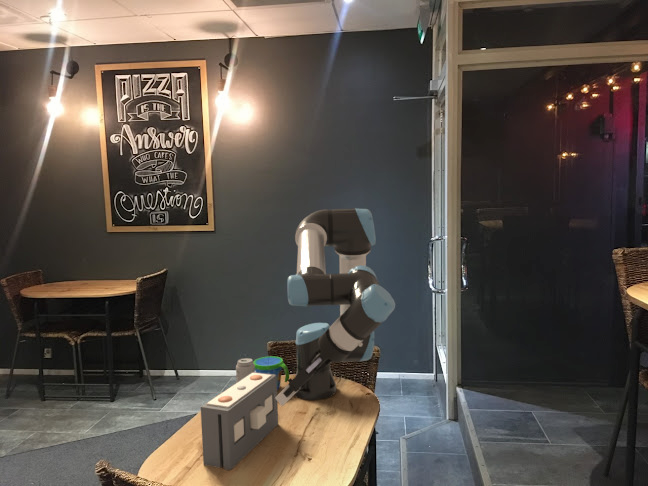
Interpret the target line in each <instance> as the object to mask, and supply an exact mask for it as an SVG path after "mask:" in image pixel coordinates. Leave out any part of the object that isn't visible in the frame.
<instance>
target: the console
mask: <svg viewBox="0 0 648 486" xmlns="http://www.w3.org/2000/svg"><path fill="white" fill-rule="evenodd" d="M252 373H257V372H252ZM250 374H251V373H250ZM250 374H249V375H250ZM260 374H265V373H260ZM268 375H272V376H271V377H270V378H269V379H267V380H266V381H264V382H263V383H262V384H260V385H259V386H258V387H256V388H255V389H254V390H252V391H251V392H250V393H248V394H247V395H245V396H244V397H243V398H241V399H240V400H239V401H237V402H236V403H235V404H233V405H232V406H231V407H229V408H224V407H218V406H211V405H207V403H208V402H209V401H211V400H212V399H214V398H215V397H217V396H218V395H220V394H221V393H223V392H224V391H226V390H227V389H229V388H230V387H232V386H233V385H235V384H236V383H238V382H239V381H238V382H237V381H236V383H234V384H233V385H231V386H229V387H228V388H226V389H225V390H223V391H222V392H221V393H219V394H218V395H216V396H215V397H213V398H212V399H210V400H209V401H207V402H205V403H204V404H203V405H201V406H200V419H201V420H200V421H201V422H200V424H201V440H202V443H201V444H202V461H203V465H204V466H208V467H209V466H210V467H213V468H220V469H221V468H222V467H223V470H227V471H231V470H232V469H233V468H234V467H235V466H237V465H238V464H239V462H241V461H242V459H244V458H245V457H246V456H247V455H248V454H249V453H250V452H251V451H252V450H253V449H254V448H255V447H256V446H257V445H258V444H260V442H262V441H263V440H264V439H265V438H266V436H268V435H269V434H270V433H271V432H272V431H273V430H274V429H275V428H276V427H277V426H278V425H279V410H278V409H279V408H278V407H279V406H278V405H279V404H278V401H277V400H276V399H275V397H276V396H277V395H278V389H277V378H276V375H274V374H268ZM247 376H248V375H247ZM247 376H246V377H247ZM244 378H245V377H244ZM244 378H243V379H244ZM241 380H242V379H241ZM241 380H240V381H241ZM270 395H272V406H273V409H272V410H271V411H270V412H269V413H268V414H267V415H266V423H265V424H264V425H262V426H261V427H260V428H259V429H253V428H251V425H250V411H251V410H252V409H254V408H255V407H256V406H264V407H265V402H264V400H265V399H266V398H267V397H268V396H270ZM241 418H243V422H244V435H243V436H242V437H240V438H239V439H238V440H237V441H236V442H234V424H235V423H236V422H237V421H239V420H240V419H241Z"/></svg>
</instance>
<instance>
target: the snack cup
mask: <svg viewBox="0 0 648 486" xmlns="http://www.w3.org/2000/svg"><path fill="white" fill-rule="evenodd" d="M253 363H254V364H255V372H257V373H265V374H274V375H276V378H277V390H279V389H280V387H281V381H282V380H281V379H282V373H283V372H282V370H283V371H284V374H285V376H284V383H288V380H289V379H290V372H289V369H288V365H286V364H285V363H284V360H283V358H282V357H279V356H271V355H270V356H263V357H259V358H256V359H254V361H253Z"/></svg>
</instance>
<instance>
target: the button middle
mask: <svg viewBox="0 0 648 486" xmlns="http://www.w3.org/2000/svg"><path fill="white" fill-rule="evenodd" d="M265 423H266V408H265V407H264V406H256V407H255V408H254V409H252V410H251V411H250V425H251V428H253V429H259V428H260V427H261V426H262V425H264V424H265Z"/></svg>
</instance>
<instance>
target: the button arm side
mask: <svg viewBox="0 0 648 486" xmlns="http://www.w3.org/2000/svg"><path fill="white" fill-rule="evenodd" d="M264 402H265V408H266V415H267V414H268V413H269V412H270V411H271V410H272V409H273V406H272V395H270V396H268V397H267V398H266V399H265V400H264Z"/></svg>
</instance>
